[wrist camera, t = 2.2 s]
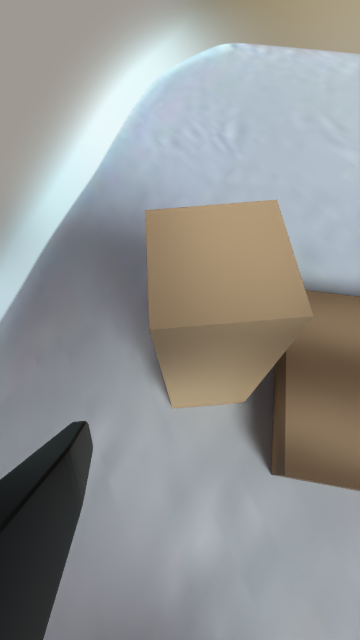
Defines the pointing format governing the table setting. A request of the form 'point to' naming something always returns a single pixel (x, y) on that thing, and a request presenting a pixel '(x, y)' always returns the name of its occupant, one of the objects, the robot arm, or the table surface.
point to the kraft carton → (221, 298)
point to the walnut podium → (320, 397)
